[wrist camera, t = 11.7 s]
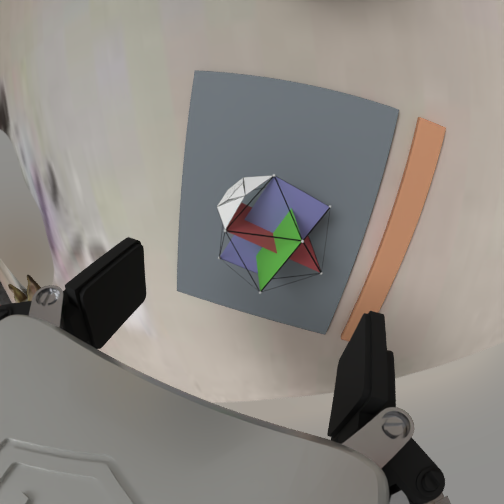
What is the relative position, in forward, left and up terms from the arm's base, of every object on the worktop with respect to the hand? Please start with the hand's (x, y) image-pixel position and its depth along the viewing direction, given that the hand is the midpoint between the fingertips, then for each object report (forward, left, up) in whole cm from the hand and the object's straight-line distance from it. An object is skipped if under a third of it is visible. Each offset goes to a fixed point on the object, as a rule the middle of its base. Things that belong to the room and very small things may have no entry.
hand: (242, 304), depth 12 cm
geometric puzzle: (0, 0, -11) cm, 11 cm away
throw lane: (-1, +1, -11) cm, 11 cm away
